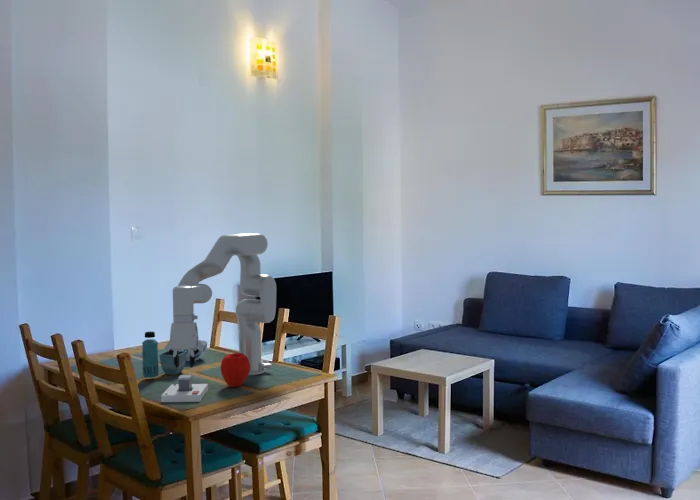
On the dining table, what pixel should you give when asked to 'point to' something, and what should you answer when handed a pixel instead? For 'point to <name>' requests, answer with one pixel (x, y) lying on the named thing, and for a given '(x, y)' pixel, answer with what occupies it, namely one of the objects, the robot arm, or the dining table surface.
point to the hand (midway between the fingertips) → (184, 366)
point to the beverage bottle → (150, 356)
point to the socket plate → (184, 393)
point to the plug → (185, 382)
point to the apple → (235, 369)
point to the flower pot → (172, 362)
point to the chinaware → (195, 349)
